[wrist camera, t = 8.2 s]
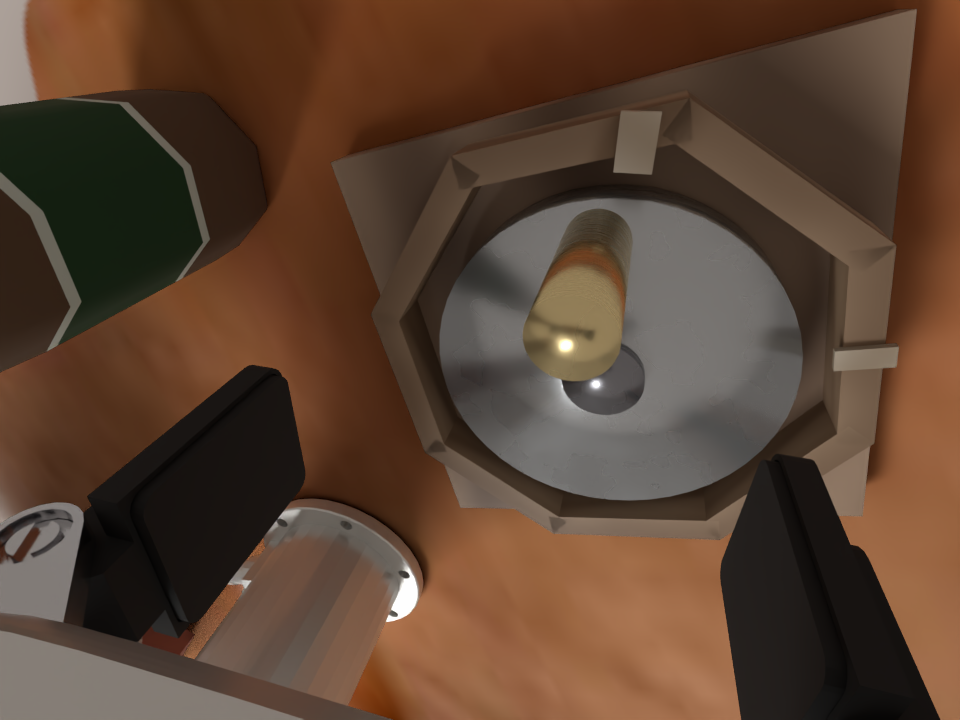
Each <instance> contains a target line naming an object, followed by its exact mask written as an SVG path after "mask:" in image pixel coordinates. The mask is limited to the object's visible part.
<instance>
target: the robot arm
mask: <svg viewBox="0 0 960 720" xmlns="http://www.w3.org/2000/svg"><path fill="white" fill-rule="evenodd" d="M304 480H305V467H304V462H303V457H302V452H301V447H300V442H299V437H298V432H297V427H296V422H295V417H294V412H293V406H292V401H291V396H290V391H289V386H288V382H287V380H286V379H285V378H284V377H282V375H281V373H280V372H279V370H277V369H273V368H267V367H262V366H256V365H249V366H247V367H246V368H244V369H243V370H242V371H241V372H239V373H238V374H237V375H236V376H234V377H233V378H232V379H231V380H229V381H228V382H227V383H226V384H225V385H223V386H222V387H221V388H220V389H218V390H217V391H216V392H215V393H214V394H212V395H211V396H210V397H209V398H207V399H206V400H205V401H204V402H202V403H201V404H200V405H199V406H198V407H196V408H195V409H194V410H193V411H191V412H190V413H189V414H188V415H186V416H185V417H184V418H183V419H182V420H180V421H179V422H178V423H177V424H175V425H174V426H173V427H172V428H171V429H169V430H168V431H167V432H166V433H164V434H163V435H162V436H161V437H159V438H158V439H157V440H156V441H155V442H153V443H152V444H151V445H150V446H148V447H147V448H146V449H145V450H143V451H142V452H141V453H140V454H139V455H137V456H136V457H135V458H134V459H132V460H131V461H130V462H129V463H128V464H126V465H125V466H124V467H123V468H121V469H120V470H119V471H118V472H116V473H115V474H114V475H113V476H112V477H110V478H109V479H108V480H107V481H105V482H104V483H103V484H102V485H100V486H99V487H98V488H97V489H96V490H94V491H93V492H92V493H91V494H89V495H88V496H87V497H88V499H89V501H90V503H91V505H92V506H91V507H90V508H89V509H88V510H86V511H85V512H84V513H83V512H82V511H81V509H80V508H79V507H78V506H76V505H73V504H70V503H56V502H55V503H49V504H44V505H39V506H36V507H33V508H30V509H27V510H24V511H22V512H20V513H18V514H16V515H14V516H12V517H10V518H8V519H7V520H5V521H4V522H2V523H1V524H0V720H392V719H389V718H385V717H382V716H379V715H376V714H372V713H369V712H366V711H363V710H359V709H356V708H353V707H349V706H348V704H349V702H350V700H351V698H352V696H353V693H354V691H355V689H356V687H357V685H358V682H359V680H360V678H361V676H362V673H363V671H364V669H365V667H366V665H367V662H368V660H369V658H370V656H371V654H372V651H373V649H374V647H375V645H376V642H377V640H378V638H379V636H380V634H381V631H382V629H383V627H384V625H385V623H386V622H389V621H394V620H397V619H400V618H403V617H405V616H406V615H408V614H409V613H411V612H412V611H413V609H414V608H415V607H416V605H417V603H418V601H419V598H420V596H421V593H422V589H423V576H422V572H421V569H420V566H419V564H418V562H417V560H416V558H415V557H414V555H413V554H412V552H411V550H410V549H409V548H408V547H407V546H406V544H405V543H404V542H403V541H402V540H401V539H400V538H399V537H398V536H397V535H396V534H395V533H394V532H392V531H391V530H390V529H389V528H388V527H386V526H385V525H383V524H382V523H381V522H379V521H378V520H376V519H375V518H373V517H371V516H369V515H367V514H365V513H363V512H362V511H360V510H358V509H355V508H352V507H350V506H347V505H344V504H342V503H337V502H333V501H329V500H322V499H298V500H295V501H292V500H293V498H294V497H295V496H296V494H297V493H298V492H299V490H300V489H301V487H302V486H303V483H304ZM263 537H264V544H265V549H264V550H263V552H262V553H261V554H260V555H254V556H252V557H250V558H249V559H248V560H246V559H247V558H248V557H249V556H250V554H251V553H252V552H253V550H254V549H255V548H256V546H257V545H258V544H259V543H260V541H261V540H262V539H263ZM720 579H721V586H722V593H723V600H724V607H725V613H726V620H727V627H728V633H729V640H730V647H731V653H732V660H733V667H734V674H735V680H736V687H737V694H738V700H739V707H740V714H741V720H940V718H939V716H938V714H937V711H936V709H935V707H934V705H933V702H932V700H931V698H930V696H929V693H928V691H927V689H926V687H925V684H924V682H923V680H922V678H921V675H920V673H919V671H918V669H917V666H916V664H915V662H914V660H913V657H912V655H911V653H910V651H909V648H908V646H907V644H906V642H905V639H904V637H903V635H902V633H901V630H900V628H899V626H898V624H897V621H896V619H895V617H894V615H893V612H892V610H891V608H890V606H889V603H888V601H887V599H886V597H885V594H884V592H883V590H882V588H881V585H880V583H879V581H878V579H877V576H876V574H875V572H874V570H873V567H872V565H871V563H870V561H869V559H868V557H867V555H866V554H865V552H864V551H863V550H862V549H861V548H859V547H858V546H854V545H850V543H849V540H848V538H847V535H846V533H845V531H844V528H843V526H842V524H841V521H840V519H839V516H838V514H837V512H836V509H835V507H834V505H833V502H832V500H831V497H830V495H829V493H828V490H827V488H826V485H825V483H824V481H823V478H822V476H821V474H820V471H819V469H818V466H817V464H816V463H815V461H814V460H812V459H807V458H801V457H795V456H789V455H784V454H775V455H774V456H773V457H772V459H771V461H770V460H761V462H760V463H759V465H758V468H757V470H756V473H755V476H754V478H753V481H752V483H751V486H750V489H749V491H748V494H747V496H746V499H745V502H744V504H743V507H742V509H741V512H740V515H739V517H738V520H737V523H736V525H735V528H734V530H733V533H732V536H731V538H730V541H729V543H728V546H727V549H726V551H725V554H724V557H723V559H722V563H721V571H720ZM227 584H229V585H238V584H242V585H243V587H244V589H243V591H242V594H241V596H240V597H239V599H238V600H237V601H236V603H235V604H234V605H233V607H232V608H231V610H230V611H229V612H228V614H227V615H226V616H225V618H224V619H223V621H222V622H221V623H220V625H219V626H218V628H217V629H216V630H215V632H214V633H213V634H212V636H211V637H210V639H209V640H208V641H207V643H206V644H205V646H204V647H203V648H202V650H201V651H200V652H199V654H198V655H197V657H196V658H195V659H191V658H188V657H184V656H181V655H178V654H174V653H171V652H168V651H164V650H161V649H158V648H154V647H151V646H148V645H144V644H142V637H143V636H144V634H145V633H146V632H147V631H148V630H149V628H150V627H151V626H152V628H153V630H154V632H158V633H161V634H165V635H168V636H171V637H175V638H178V639H179V638H180V636H181V635H182V634H183V632H184V631H185V630H186V629H187V627H188V626H189V625H190V623H194V622H197V621H198V620H200V619H201V618H202V616H203V615H204V614H205V613H206V612H207V610H208V609H209V608H210V606H211V605H212V604H213V602H214V601H215V600H216V599H217V597H218V596H219V595H220V593H221V592H222V591H223V589H224V588H225V587H226V586H227Z"/></svg>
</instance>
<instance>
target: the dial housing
mask: <svg viewBox="0 0 960 720" xmlns="http://www.w3.org/2000/svg"><path fill="white" fill-rule="evenodd" d="M916 14H917V9H900V10H894V11H890V12H887V13H883V14H879V15H875V16H872V17H868V18H864V19H860V20H856V21H853V22H849V23H845V24H841V25H837V26H834V27H830V28H826V29H822V30H819V31H815V32H811V33H807V34H803V35H800V36H796V37H792V38H788V39H785V40H781V41H777V42H773V43H769V44H766V45H762V46H758V47H754V48H750V49H747V50H743V51H739V52H735V53H732V54H728V55H724V56H720V57H716V58H713V59H709V60H705V61H701V62H698V63H694V64H690V65H686V66H682V67H679V68H675V69H671V70H667V71H663V72H660V73H656V74H652V75H648V76H645V77H641V78H637V79H633V80H629V81H626V82H622V83H618V84H614V85H611V86H607V87H603V88H599V89H595V90H592V91H588V92H584V93H580V94H577V95H573V96H569V97H565V98H561V99H558V100H554V101H550V102H546V103H542V104H539V105H535V106H531V107H527V108H524V109H520V110H516V111H512V112H508V113H505V114H501V115H497V116H493V117H490V118H486V119H482V120H478V121H474V122H471V123H467V124H463V125H459V126H455V127H452V128H448V129H444V130H440V131H437V132H433V133H429V134H425V135H421V136H418V137H414V138H410V139H406V140H403V141H399V142H395V143H391V144H387V145H384V146H380V147H376V148H372V149H368V150H365V151H361V152H357V153H353V154H350V155H346V156H344V157H342V158H340V159H337V160H335V161H333V162H331V165H332V168H333V170H334V173H335V176H336V178H337V181H338V184H339V186H340V189H341V192H342V194H343V197H344V199H345V202H346V205H347V207H348V210H349V213H350V215H351V218H352V221H353V223H354V226H355V229H356V231H357V234H358V237H359V239H360V242H361V245H362V247H363V250H364V253H365V255H366V258H367V261H368V263H369V266H370V269H371V271H372V274H373V276H374V279H375V282H376V284H377V287H378V290H379V292H380V297H379V299H378V301H377V303H376V305H375V307H374V309H373V311H372V313H371V316H372V319H373V321H374V324H375V326H376V329H377V331H378V334H379V337H380V339H381V342H382V344H383V347H384V349H385V352H386V354H387V357H388V359H389V362H390V365H391V367H392V370H393V372H394V375H395V377H396V380H397V382H398V385H399V387H400V390H401V392H402V395H403V398H404V400H405V403H406V405H407V408H408V410H409V413H410V415H411V418H412V420H413V423H414V426H415V428H416V431H417V433H418V436H419V438H420V441H421V443H422V446H423V448H424V451H425V453H427V454H428V455H430V456H431V457H433V458H435V459H436V460H438V461H439V462H441V463H443V464H444V465H445V468H446V470H447V473H448V476H449V478H450V481H451V484H452V486H453V489H454V492H455V494H456V497H457V500H458V502H459V505H460V508H505V509H516V510H517V511H519V512H520V513H522V514H523V515H525V516H527V517H528V518H530V519H531V520H533V521H535V522H536V523H538V524H539V525H541V526H543V527H544V528H546V529H547V530H549V531H550V532H552V533H553V534H579V535H605V536H631V537H657V538H683V539H709V540H720V539H722V538H724V537H725V536H727V535H728V534H730V533H732V532H733V530H734V528H735V525H736V523H737V520H738V517H739V515H740V512H741V509H742V507H743V504H744V502H745V499H746V496H747V494H748V491H749V489H750V486H751V483H752V481H753V478H754V476H755V473H756V470H757V468H758V465H759V463H760V462H761V460H770V461H771V459H772V457H773V456H774V455H775V454H784V455H789V456H795V457H801V458H807V459H812V460H814V461H815V463H816V464H817V466H818V469H819V471H820V474H821V476H822V478H823V481H824V483H825V485H826V488H827V490H828V493H829V495H830V497H831V500H832V502H833V505H834V507H835V509H836V512H837V514H838V516H863V507H864V497H865V488H866V479H867V469H868V460H869V451H870V446H871V445H873V444H874V441H875V432H876V423H877V415H878V406H879V397H880V388H881V379H882V370H883V368H894V367H896V366H897V358H898V350H899V346H898V345H897V344H896V343H894V344H885V343H886V334H887V325H888V316H889V307H890V298H891V290H892V281H893V272H894V263H895V254H896V244H895V243H894V242H893V241H892V237H893V228H894V218H895V209H896V200H897V191H898V181H899V172H900V163H901V153H902V144H903V135H904V126H905V116H906V107H907V98H908V88H909V79H910V70H911V60H912V51H913V42H914V33H915V23H916ZM616 184H629V185H638V186H648V187H654V188H659V189H663V190H667V191H671V192H675V193H679V194H681V195H684V196H686V197H689V198H692V199H694V200H697V201H699V202H702V203H704V204H705V205H707V206H709V207H711V208H713V209H714V210H716V211H718V212H720V213H721V214H723V215H725V216H726V217H727V218H729V219H730V220H731V221H733V222H734V223H735V224H736V225H738V226H739V227H740V228H742V229H743V230H744V231H745V232H746V233H747V234H748V235H749V236H750V237H751V238H752V239H753V240H754V241H755V242H756V243H757V244H758V245H759V247H760V248H761V249H762V250H763V252H764V253H765V255H766V256H767V258H768V259H769V261H770V262H771V263H772V265H773V266H774V268H775V270H776V272H777V274H778V277H779V279H780V281H781V283H782V285H783V287H784V289H785V291H786V294H787V296H788V298H789V300H790V302H791V304H792V307H793V309H794V311H795V314H796V318H797V321H798V325H799V329H800V332H801V340H802V351H803V361H802V373H801V380H800V384H799V388H798V391H797V395H796V399H795V401H794V403H793V405H792V407H791V410H790V412H789V414H788V416H787V418H786V420H785V421H784V423H783V424H782V426H781V427H780V429H779V430H778V432H777V433H776V435H775V436H774V437H773V438H772V439H771V440H770V442H769V443H768V444H767V445H766V446H765V447H764V448H763V449H762V451H760V452H759V453H758V454H757V455H756V456H754V457H753V458H752V459H751V460H750V461H749V462H747V463H746V464H745V465H743V466H742V467H740V468H739V469H737V470H736V471H734V472H733V473H731V474H730V475H728V476H726V477H724V478H722V479H720V480H718V481H716V482H714V483H712V484H710V485H707V486H704V487H701V488H699V489H696V490H693V491H690V492H686V493H682V494H678V495H674V496H670V497H664V498H657V499H650V500H630V501H629V500H608V499H601V498H594V497H588V496H583V495H579V494H574V493H570V492H567V491H564V490H561V489H558V488H555V487H552V486H549V485H547V484H545V483H542V482H540V481H538V480H535V479H533V478H532V477H530V476H528V475H526V474H524V473H522V472H521V471H519V470H517V469H516V468H514V467H513V466H511V465H510V464H508V463H507V462H505V461H504V460H502V459H501V458H500V457H499V456H497V455H496V454H495V453H494V452H493V451H491V450H490V449H489V448H488V447H487V446H486V445H485V444H484V443H483V442H482V441H481V440H480V439H479V438H478V437H477V436H476V435H475V434H474V432H473V431H472V430H471V428H470V427H469V426H468V425H467V423H466V422H465V421H464V419H463V418H462V416H461V414H460V413H459V411H458V409H457V408H456V406H455V404H454V402H453V400H452V397H451V395H450V393H449V391H448V388H447V385H446V382H445V378H444V375H443V372H442V365H441V359H440V329H441V321H442V316H443V312H444V309H445V306H446V302H447V299H448V297H449V295H450V293H451V290H452V288H453V286H454V284H455V282H456V280H457V279H458V277H459V276H460V274H461V273H462V271H463V270H464V268H465V267H466V265H467V264H468V263H469V261H470V260H471V259H472V257H473V256H474V255H475V254H476V252H477V251H478V250H479V248H480V247H481V246H482V245H483V244H484V243H485V241H486V240H487V239H488V238H489V237H490V236H491V235H492V234H493V233H494V231H496V230H497V229H498V228H499V227H500V226H502V225H503V224H504V223H505V222H506V221H508V220H509V219H510V218H511V217H513V216H514V215H516V214H517V213H519V212H521V211H522V210H524V209H526V208H527V207H529V206H530V205H533V204H535V203H537V202H539V201H541V200H544V199H546V198H548V197H550V196H553V195H556V194H560V193H563V192H567V191H570V190H573V189H578V188H584V187H590V186H597V185H616Z"/></svg>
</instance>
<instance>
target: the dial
mask: <svg viewBox="0 0 960 720" xmlns="http://www.w3.org/2000/svg"><path fill="white" fill-rule="evenodd" d="M440 359H441V365H442V372H443V375H444V378H445V382H446V385H447V388H448V391H449V393H450V395H451V397H452V400H453V402H454V404H455V406H456V408H457V409H458V411H459V413H460V414H461V416H462V418H463V419H464V421H465V422H466V423H467V425H468V426H469V427H470V428H471V430H472V431H473V432H474V434H475V435H476V436H477V437H478V438H479V439H480V440H481V441H482V442H483V443H484V444H485V445H486V446H487V447H488V448H489V449H490V450H491V451H493V452H494V453H495V454H496V455H497V456H499V457H500V458H501V459H502V460H504V461H505V462H507V463H508V464H510V465H511V466H513V467H514V468H516V469H517V470H519V471H521V472H522V473H524V474H526V475H528V476H530V477H532V478H533V479H535V480H538V481H540V482H542V483H545V484H547V485H549V486H552V487H555V488H558V489H561V490H564V491H567V492H570V493H574V494H579V495H583V496H588V497H594V498H601V499H608V500H629V501H630V500H650V499H657V498H664V497H670V496H674V495H678V494H682V493H686V492H690V491H693V490H696V489H699V488H701V487H704V486H707V485H710V484H712V483H714V482H716V481H718V480H720V479H722V478H724V477H726V476H728V475H730V474H731V473H733V472H734V471H736V470H737V469H739V468H740V467H742V466H743V465H745V464H746V463H747V462H749V461H750V460H751V459H752V458H753V457H754V456H756V455H757V454H758V453H759V452H760V451H762V449H763V448H764V447H765V446H766V445H767V444H768V443H769V442H770V440H771V439H772V438H773V437H774V436H775V435H776V433H777V432H778V430H779V429H780V427H781V426H782V424H783V423H784V421H785V420H786V418H787V416H788V414H789V412H790V410H791V407H792V405H793V403H794V401H795V399H796V395H797V391H798V388H799V384H800V380H801V373H802V361H803V351H802V340H801V332H800V329H799V325H798V321H797V318H796V314H795V311H794V309H793V307H792V304H791V302H790V300H789V298H788V296H787V294H786V291H785V289H784V287H783V285H782V283H781V281H780V279H779V277H778V274H777V272H776V270H775V268H774V266H773V265H772V263H771V262H770V261H769V259H768V258H767V256H766V255H765V253H764V252H763V250H762V249H761V248H760V247H759V245H758V244H757V243H756V242H755V241H754V240H753V239H752V238H751V237H750V236H749V235H748V234H747V233H746V232H745V231H744V230H743V229H742V228H740V227H739V226H738V225H736V224H735V223H734V222H733V221H731V220H730V219H729V218H727V217H726V216H725V215H723V214H721V213H720V212H718V211H716V210H714V209H713V208H711V207H709V206H707V205H705V204H704V203H702V202H699V201H697V200H694V199H692V198H689V197H686V196H684V195H681V194H679V193H675V192H671V191H667V190H663V189H659V188H654V187H648V186H638V185H629V184H616V185H597V186H590V187H584V188H578V189H573V190H570V191H567V192H563V193H560V194H556V195H553V196H550V197H548V198H546V199H544V200H541V201H539V202H537V203H535V204H533V205H530V206H529V207H527V208H526V209H524V210H522V211H521V212H519V213H517V214H516V215H514V216H513V217H511V218H510V219H509V220H508V221H506V222H505V223H504V224H503V225H502V226H500V227H499V228H498V229H497V230H496V231H494V233H493V234H492V235H491V236H490V237H489V238H488V239H487V240H486V241H485V243H484V244H483V245H482V246H481V247H480V248H479V250H478V251H477V252H476V254H475V255H474V256H473V257H472V259H471V260H470V261H469V263H468V264H467V265H466V267H465V268H464V270H463V271H462V273H461V274H460V276H459V277H458V279H457V280H456V282H455V284H454V286H453V288H452V290H451V293H450V295H449V297H448V299H447V302H446V306H445V309H444V312H443V316H442V321H441V329H440Z"/></svg>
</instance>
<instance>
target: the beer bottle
mask: <svg viewBox="0 0 960 720" xmlns="http://www.w3.org/2000/svg"><path fill="white" fill-rule="evenodd" d="M267 206H268V205H267V200H266V195H265V190H264V184H263V179H262V174H261V169H260V164H259V158H258V153H257V148H256V145H255V144H254V143H253V142H252V141H251V140H250V139H249V138H248V137H247V136H246V135H245V134H244V133H243V132H242V131H241V129H240V128H239V127H238V126H237V125H236V124H235V123H234V122H233V121H232V120H231V119H230V118H229V117H228V116H227V115H226V114H225V112H224V111H223V110H222V109H221V108H220V107H219V106H218V105H217V104H216V103H215V102H214V101H213V100H212V99H211V98H210V97H209V96H208V95H206V94H204V93H194V92H180V91H167V90H153V89H144V90H125V91H112V92H104V93H96V94H89V95H81V96H73V97H66V98H58V99H50V100H42V101H35V102H27V103H19V104H12V105H5V106H0V372H2V371H4V370H6V369H9V368H11V367H13V366H15V365H18V364H20V363H22V362H24V361H27V360H29V359H31V358H33V357H36V356H38V355H40V354H42V353H45V352H47V351H49V350H50V349H52V348H54V347H56V346H58V345H60V344H62V343H63V342H65V341H67V340H69V339H71V338H73V337H75V336H76V335H78V334H80V333H82V332H84V331H86V330H88V329H89V328H91V327H93V326H95V325H97V324H99V323H100V322H102V321H104V320H106V319H108V318H110V317H112V316H113V315H115V314H117V313H119V312H121V311H123V310H125V309H126V308H128V307H130V306H132V305H134V304H136V303H138V302H139V301H141V300H143V299H145V298H147V297H149V296H151V295H152V294H154V293H156V292H158V291H160V290H162V289H163V288H165V287H167V286H169V285H171V284H173V283H175V282H176V281H178V280H180V279H182V278H184V277H186V276H188V275H189V274H191V273H193V272H195V271H197V270H199V269H201V268H202V267H204V266H206V265H208V264H210V263H212V262H213V261H215V260H217V259H219V258H220V257H222V256H223V255H225V254H226V253H228V252H229V251H231V250H232V249H234V248H236V247H237V246H239V245H240V243H241V242H242V241H243V239H244V238H245V237H246V235H247V234H248V233H249V232H250V230H251V229H252V228H253V226H254V225H255V224H256V223H257V221H258V220H259V219H260V217H261V216H262V215H263V213H264V212H265V211H266V209H267Z"/></svg>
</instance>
